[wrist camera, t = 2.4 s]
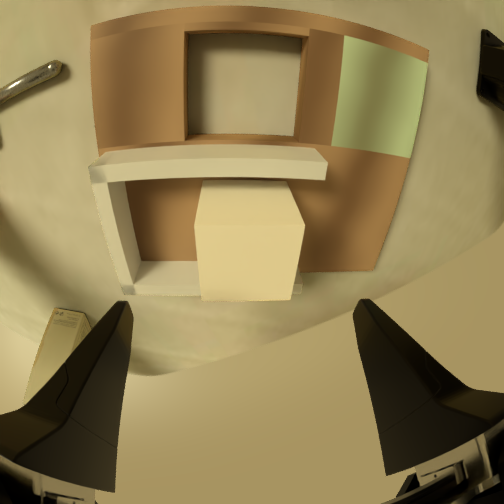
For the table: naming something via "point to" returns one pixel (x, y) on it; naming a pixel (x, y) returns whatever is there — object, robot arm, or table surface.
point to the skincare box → (56, 347)
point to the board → (305, 135)
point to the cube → (247, 240)
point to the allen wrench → (30, 80)
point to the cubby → (181, 166)
